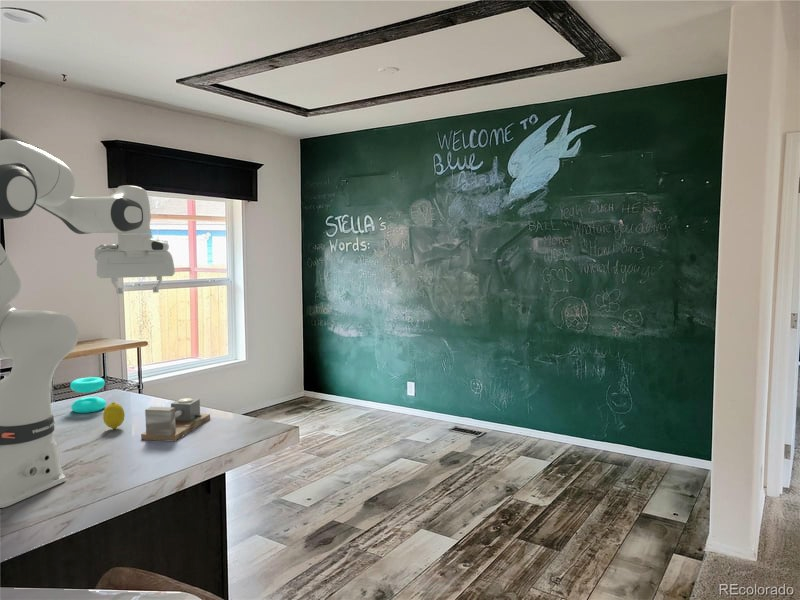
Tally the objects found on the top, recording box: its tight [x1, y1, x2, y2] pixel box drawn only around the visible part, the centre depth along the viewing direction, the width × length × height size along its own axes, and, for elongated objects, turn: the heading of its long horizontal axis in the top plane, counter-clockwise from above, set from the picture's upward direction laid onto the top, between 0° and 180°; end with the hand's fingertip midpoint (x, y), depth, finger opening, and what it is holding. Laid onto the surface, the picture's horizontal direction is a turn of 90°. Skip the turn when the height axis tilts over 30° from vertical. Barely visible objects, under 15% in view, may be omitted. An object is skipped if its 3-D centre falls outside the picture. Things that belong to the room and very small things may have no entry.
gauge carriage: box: [170, 397, 202, 421], centre depth 173 cm, size 9×8×5 cm
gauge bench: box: [140, 406, 211, 442], centre depth 170 cm, size 21×10×8 cm, turn 172°
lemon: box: [102, 401, 125, 430], centre depth 169 cm, size 6×6×8 cm
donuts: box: [69, 376, 107, 414], centre depth 190 cm, size 10×10×10 cm
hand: (137, 293), depth 166 cm, fingers open, 8 cm apart
